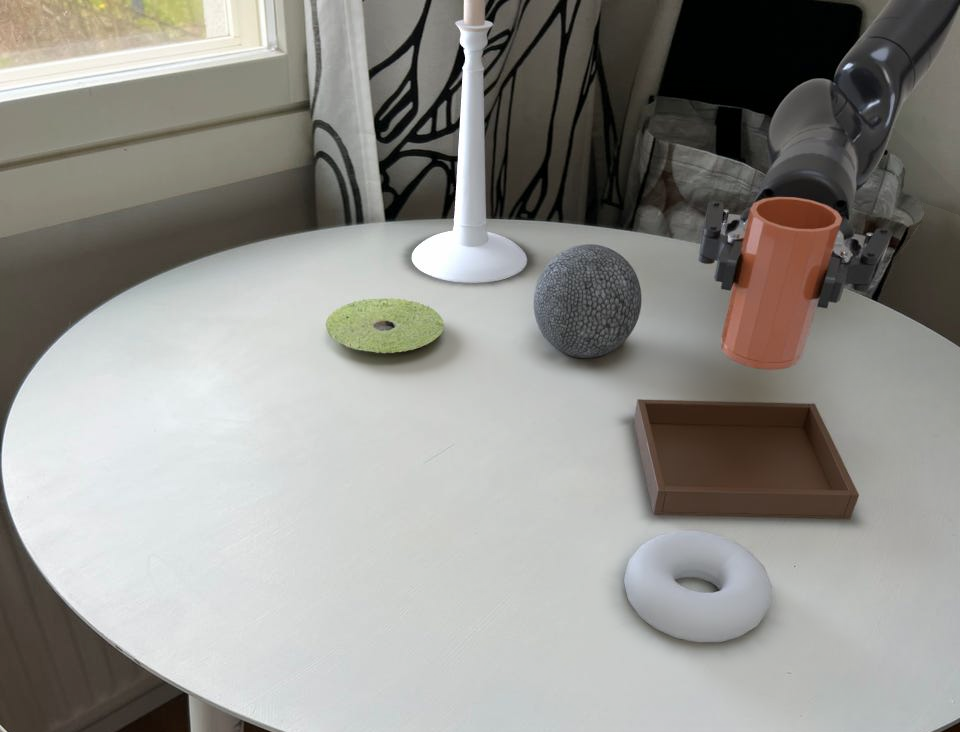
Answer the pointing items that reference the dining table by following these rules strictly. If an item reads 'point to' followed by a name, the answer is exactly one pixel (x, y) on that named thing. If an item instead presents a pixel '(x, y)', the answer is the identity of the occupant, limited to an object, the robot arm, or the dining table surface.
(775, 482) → the tray
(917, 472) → the dining table surface
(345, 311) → the green disc
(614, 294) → the decorative ball
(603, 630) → the dining table surface
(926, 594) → the dining table surface
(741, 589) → the donut
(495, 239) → the candlestick
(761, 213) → the cup
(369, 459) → the dining table surface
